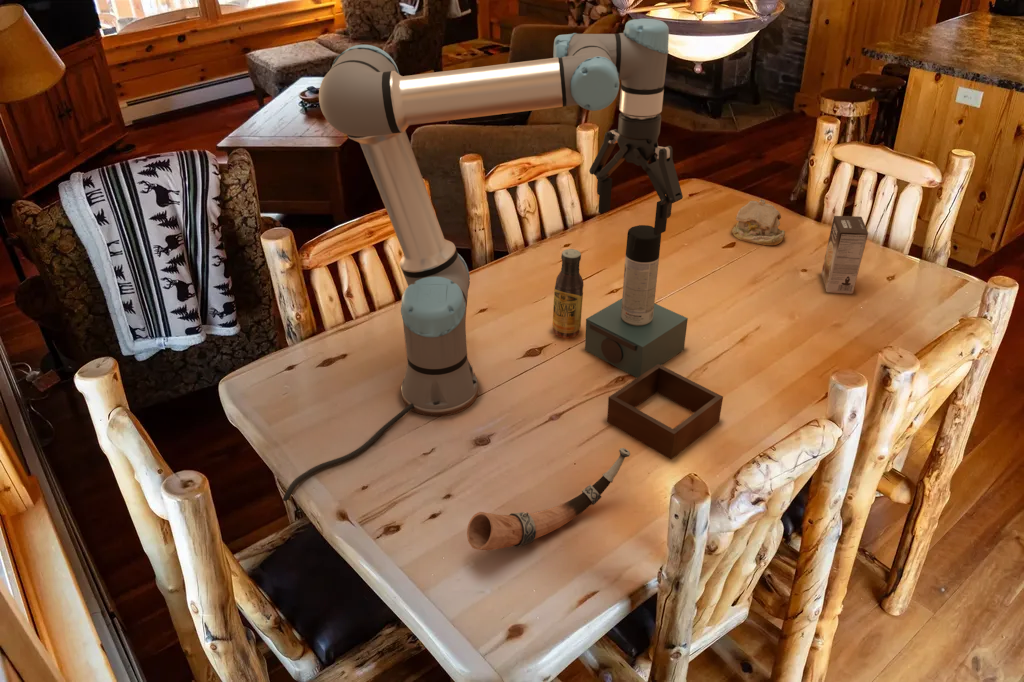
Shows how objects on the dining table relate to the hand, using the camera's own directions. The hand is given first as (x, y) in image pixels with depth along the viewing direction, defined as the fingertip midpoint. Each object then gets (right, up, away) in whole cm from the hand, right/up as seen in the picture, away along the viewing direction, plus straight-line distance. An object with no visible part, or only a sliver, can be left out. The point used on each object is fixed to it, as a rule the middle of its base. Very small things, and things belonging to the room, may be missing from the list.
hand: (631, 221), depth 155 cm
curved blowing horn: (-16, -53, -24) cm, 61 cm away
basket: (+6, -38, -3) cm, 39 cm away
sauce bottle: (-11, -21, +24) cm, 34 cm away
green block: (+3, -25, +17) cm, 31 cm away
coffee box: (+55, -9, +39) cm, 68 cm away
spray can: (+3, -18, +13) cm, 23 cm away
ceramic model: (+43, +5, +62) cm, 75 cm away
